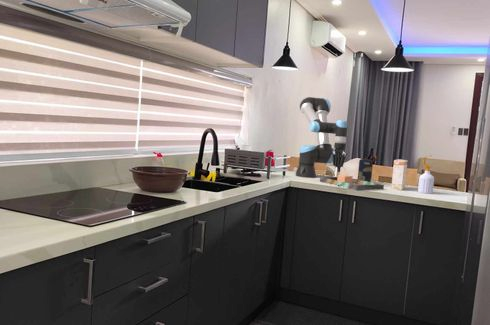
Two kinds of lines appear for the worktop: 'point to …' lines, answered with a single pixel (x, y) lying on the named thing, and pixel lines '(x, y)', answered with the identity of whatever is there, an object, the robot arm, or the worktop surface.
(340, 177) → the block
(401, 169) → the coffeecake box
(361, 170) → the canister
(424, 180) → the soap bottle
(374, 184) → the trap channel
